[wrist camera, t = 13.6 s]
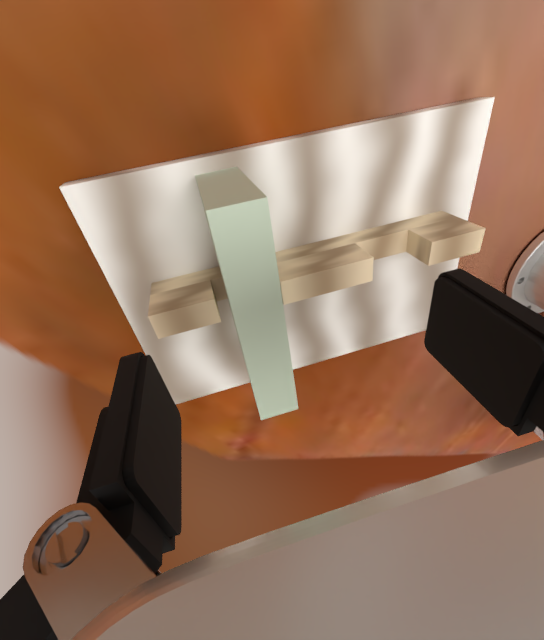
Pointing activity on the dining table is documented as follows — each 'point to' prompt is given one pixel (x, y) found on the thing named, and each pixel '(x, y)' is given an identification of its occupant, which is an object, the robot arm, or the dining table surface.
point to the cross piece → (251, 283)
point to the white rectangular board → (293, 239)
